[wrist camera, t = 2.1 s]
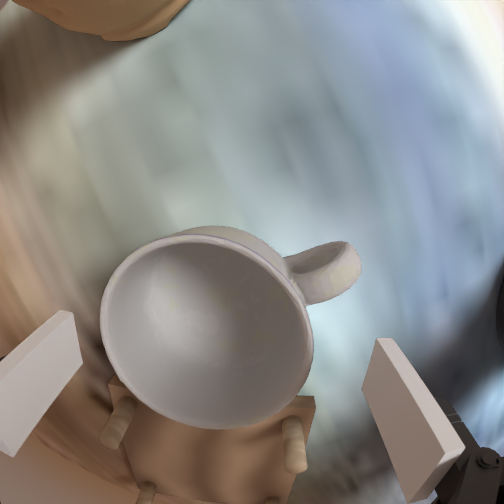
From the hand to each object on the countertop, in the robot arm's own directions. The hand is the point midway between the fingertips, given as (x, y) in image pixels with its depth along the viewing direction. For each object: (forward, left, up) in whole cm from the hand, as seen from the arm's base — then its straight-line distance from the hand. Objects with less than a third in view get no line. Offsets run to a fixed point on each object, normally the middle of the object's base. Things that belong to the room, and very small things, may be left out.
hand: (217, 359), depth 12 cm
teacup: (0, 0, -10) cm, 10 cm away
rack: (+2, +18, -10) cm, 21 cm away
